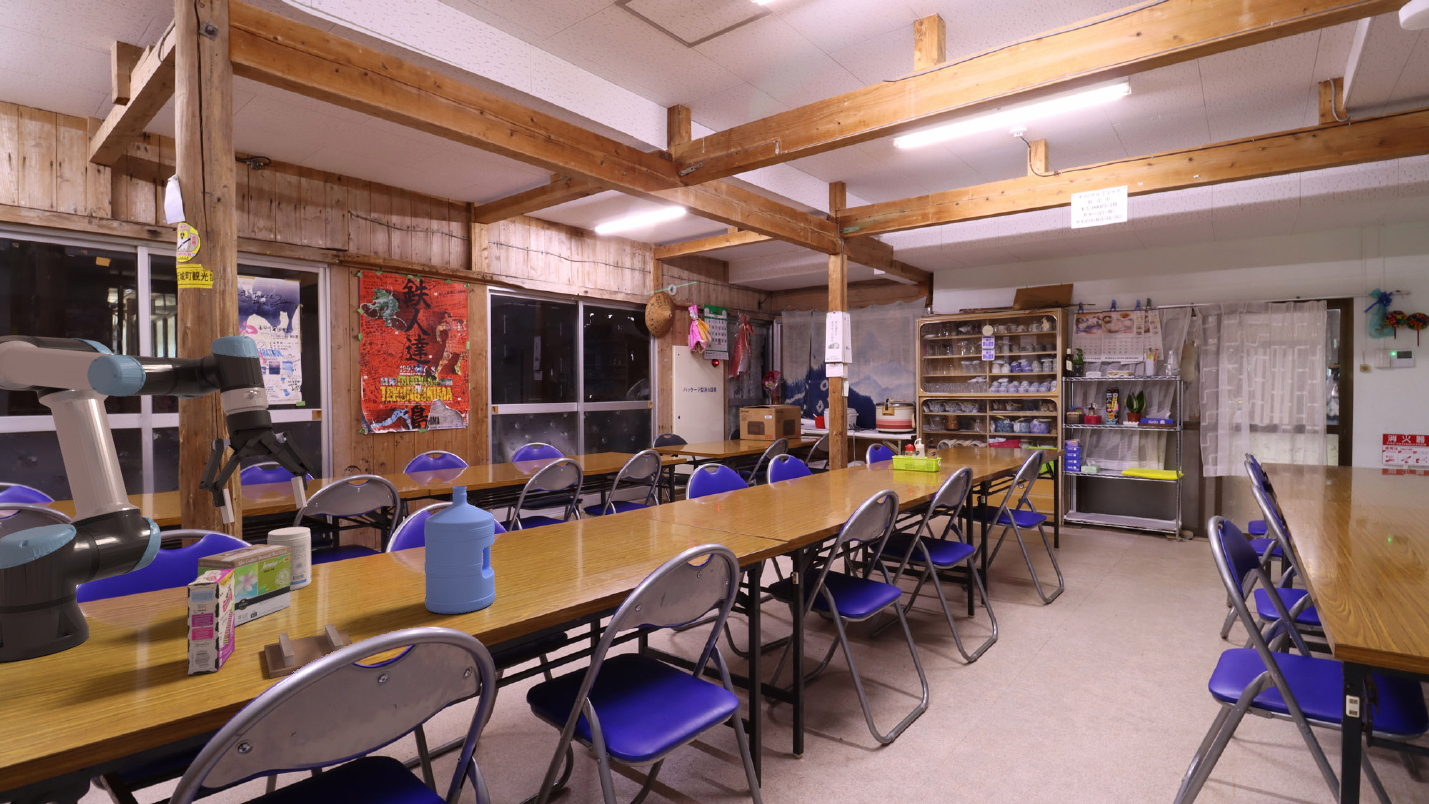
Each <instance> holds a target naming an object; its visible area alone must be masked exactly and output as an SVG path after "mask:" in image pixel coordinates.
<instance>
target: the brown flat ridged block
mask: <svg viewBox="0 0 1429 804" xmlns="http://www.w3.org/2000/svg"><path fill="white" fill-rule="evenodd" d="M352 643H353V641H352V639H351V637H350V636H349V634H348V632H347V630H346V629H341V630H337V629H336V627H335V625H334V623H329V624H325V625H324V633H321V634H315V635H310V636H305V637H300V638H295V639H290V637H289V634H288V632H282V633H279V634H278V642H274V643H270V644H269V643H268V644H264V645H263V646H264V647H263V649H264V655H265V662H266V666H267V670H268V675H269V679H274V678H279V677H282V676H283V677H284V676H288V675H292V674H291V673H292V672H293V671H296V670H297V669H300V668H301V667H302V666H305V665H306V664H308V663H310V662H311V661H313V660H315V659H318V658H320V657H321V656H325V655H326V654H330V653H331V652H333V651H337V650H339V649H341V648H343V647H344V646H348V645H349V644H352Z"/></svg>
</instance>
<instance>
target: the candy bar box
mask: <svg viewBox="0 0 1429 804" xmlns="http://www.w3.org/2000/svg"><path fill="white" fill-rule="evenodd" d="M186 586H187V676H193V675H194V676H195V675H201V674H208V673H215V672H219V671H220V669H221V668H222V667H223V666H224V664H226V661H227V660H228V659H229V658H230V657H231V655H232V654H233V652H234V651H235V649H236V648H235V647H236V646H235V645H236V643H235V642H236V641H235V638H236V637H235V634H236V633H235V632H236V631H235V630H236V629H235V569H220V570H210V571H206V572H204V573H203V574H202V575H201V576H199V577H198V576H197V577H196V578H195V579H194V580H193V581H191V582H190V583H188V584H187V585H186Z"/></svg>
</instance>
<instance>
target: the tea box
mask: <svg viewBox="0 0 1429 804" xmlns="http://www.w3.org/2000/svg"><path fill="white" fill-rule="evenodd" d="M220 569H235V627H238V626H240V625H242V624H244V623H248V622H249V621H253V620H255V619H258V618H261V617H264V616H267V615H271V614H272V613H276V612H278V611H282V610H284V609H287V608H290V607H291V590H290V546H279V545H268V544H262V543H261V544H258V543H256V544H252V545H248V546H245V547H239V548H235V549H233V550H228V551H224V552H221V553H216V554H211V555H207V556H203V557H200V558H197V578H198V577H199V576H201V575H202V574H203V573H204V572H206V571H210V570H220Z"/></svg>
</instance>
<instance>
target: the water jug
mask: <svg viewBox="0 0 1429 804" xmlns="http://www.w3.org/2000/svg"><path fill="white" fill-rule="evenodd" d="M467 488H468V487H467V486H466V485H459V486H458V485H456V486H452V488H451V489H452V491H453V492H452V503H451V505H449V506H447V507H445V508H443V509H441V510H439V511H437V512H435V513H433V514H432V515H430V516H427V517H426V519H425V520H424V527H423V531H424V532H423V534H424V536H423V537H424V550H425V551H424V574H425V598H424V606H425V608H426V610H428V611H429V612H431V613H434V614H440V615H459V613H460V614H464V613H465V614H466V612H467V613H471V611H472V612H476V611H480V610H482V609H485V608H486V607H488V606H490V605H491V604H493V603H494V601H495V600H496V588H495V587H496V585H495V584H496V582H495V580H496V579H495V575H496V574H495V570H494V569H493V568H492V566H491V565H492V563H491V562H492V561H491V559H492V558H491V556H492V555H491V554H492V553H491V551H492V550H491V546H492V545H494V544H495V531H496V527H495V526H496V525H495V524H496V523H495V515H494V514H493V513H491V512H490V511H486V510H484V509H481V508H480V507H476V506H475V505H471V504H469V503H468V500H467V496H468V494H467Z"/></svg>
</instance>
